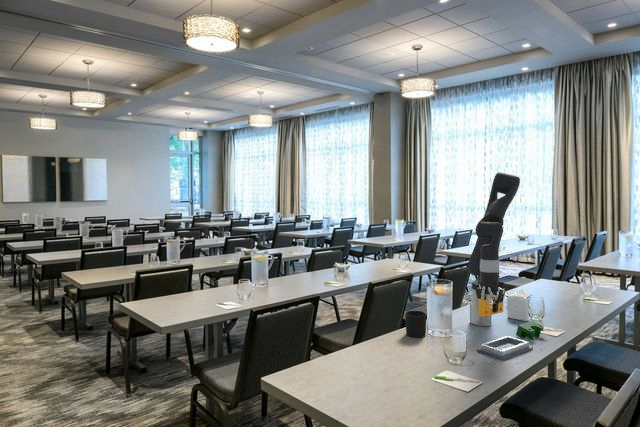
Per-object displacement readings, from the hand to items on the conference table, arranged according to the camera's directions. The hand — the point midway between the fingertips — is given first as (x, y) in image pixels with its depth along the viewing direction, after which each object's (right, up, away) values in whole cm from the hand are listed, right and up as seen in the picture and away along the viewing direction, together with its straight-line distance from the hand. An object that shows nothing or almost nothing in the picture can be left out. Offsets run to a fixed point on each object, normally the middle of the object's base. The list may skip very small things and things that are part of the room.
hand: (489, 310), depth 189 cm
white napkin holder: (+30, -13, +41) cm, 53 cm away
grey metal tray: (+5, -16, -3) cm, 17 cm away
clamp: (+23, -15, +14) cm, 31 cm away
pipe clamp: (0, -1, 0) cm, 1 cm away
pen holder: (-27, -15, +19) cm, 36 cm away
